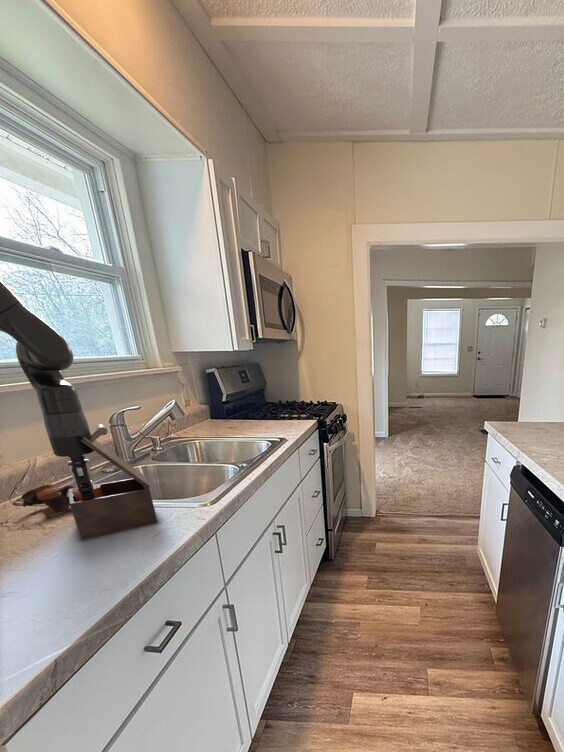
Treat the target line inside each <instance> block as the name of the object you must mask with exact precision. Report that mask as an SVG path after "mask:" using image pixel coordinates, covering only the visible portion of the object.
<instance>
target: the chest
mask: <svg viewBox="0 0 564 752" xmlns="http://www.w3.org/2000/svg"><path fill="white" fill-rule="evenodd" d="M97 484H98V485H101V488H102V492H103V495H104V497H100V498H94V499H89V500H83V501H78V502H75V499H74V496H73V493H72V489H74V488H72V489H69V491H68V497H69V502H70V505H69V508H70V510H71V513H72V516H73V519H74V523H75V525H76V527H77V530H78V534H79V536H80V539H81V540H88V539H91V538H96V537H100V536H105V535H109V534H113V533H117V532H122V531H127V530H131V529H135V528H140V527H144V526H148V525H153V524H157V523H158V522H159V521H158V518H157V517H158V516H157V513H156V510H155V506H154V502H153V498H152V493H151V490H150V487H149V488H146V487H145V486H143V485H142V484H141V483H139V482H138V481H136V480H135V479H133V478H132V477H131V478H126V479H120V480H114V481H109V482H101V483H97Z"/></svg>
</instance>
